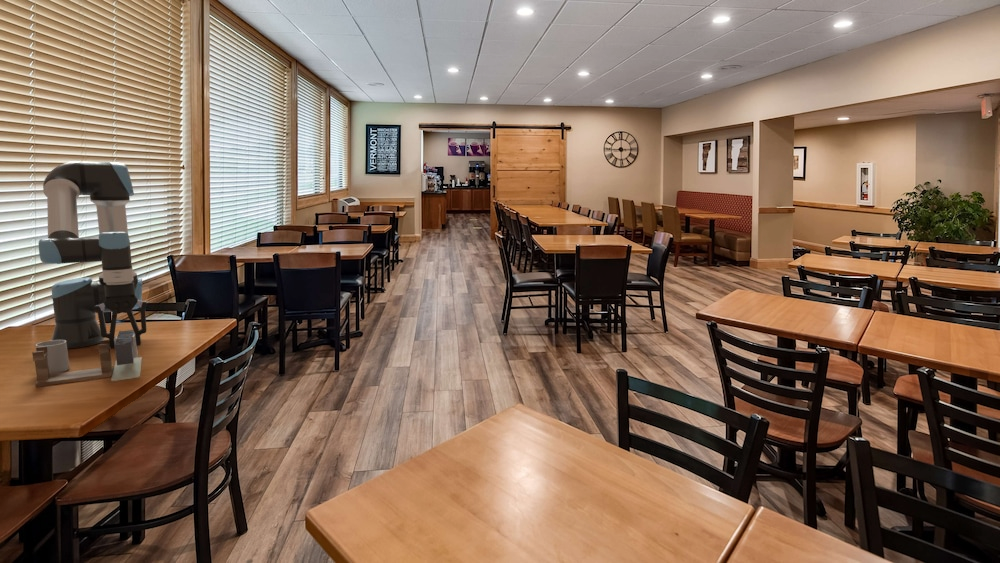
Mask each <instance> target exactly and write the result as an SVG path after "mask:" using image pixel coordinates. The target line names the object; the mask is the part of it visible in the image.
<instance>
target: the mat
mask: <svg viewBox="0 0 1000 563" xmlns="http://www.w3.org/2000/svg"><path fill="white" fill-rule="evenodd" d="M142 361H143V357H142V356H140V357H139V356H138V357H134V363H131V364H123V365H117V360H116V359H115V364H114V365H113V373H112V377H110V378H111V379H110V382H117V381H122V380H123V381H124V380H132V379H139V378H141V369H142V368H141V367H142Z"/></svg>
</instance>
